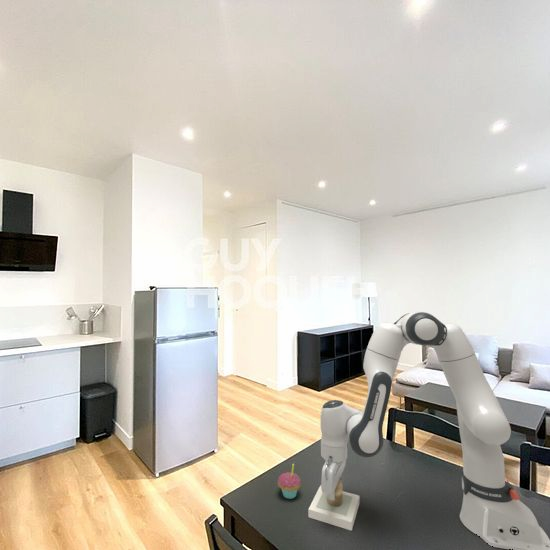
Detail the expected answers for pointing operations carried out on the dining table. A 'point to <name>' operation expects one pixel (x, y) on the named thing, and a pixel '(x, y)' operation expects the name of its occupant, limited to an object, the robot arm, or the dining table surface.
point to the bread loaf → (337, 495)
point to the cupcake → (289, 483)
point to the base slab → (335, 510)
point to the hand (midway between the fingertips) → (334, 492)
